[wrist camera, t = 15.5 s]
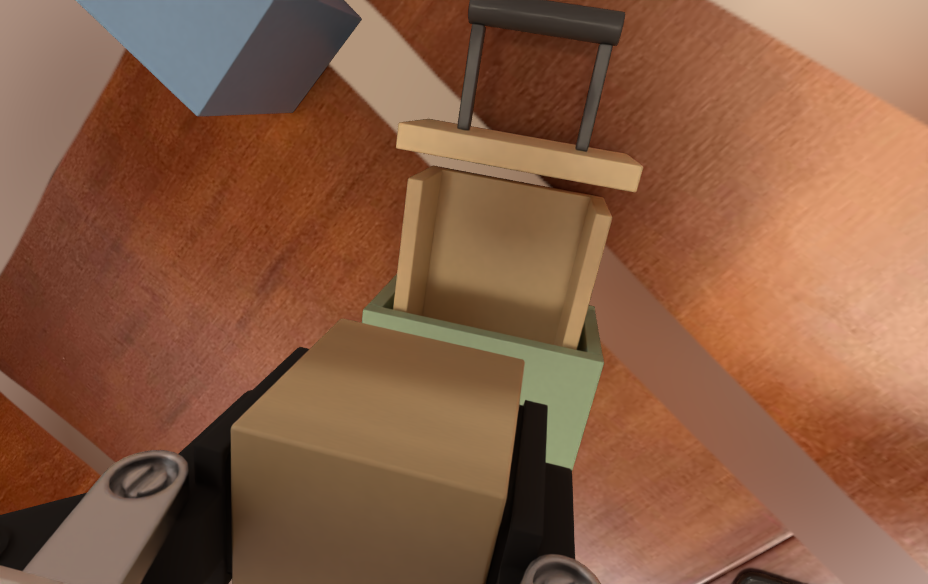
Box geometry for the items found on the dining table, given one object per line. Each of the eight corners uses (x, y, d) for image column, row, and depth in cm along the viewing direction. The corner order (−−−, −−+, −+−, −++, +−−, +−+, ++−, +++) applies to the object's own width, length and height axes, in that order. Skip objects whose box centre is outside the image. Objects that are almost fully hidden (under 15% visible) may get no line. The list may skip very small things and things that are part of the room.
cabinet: (403, 266, 34) (362, 309, 27) (594, 306, 32) (604, 362, 25) (382, 444, 39) (343, 519, 32) (545, 485, 38) (542, 572, 31)
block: (340, 316, 12) (228, 425, 8) (525, 358, 12) (507, 497, 8) (329, 465, 14) (231, 619, 10) (491, 507, 13) (460, 688, 9)
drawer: (442, -4, 27) (413, -30, 22) (661, 29, 26) (687, 10, 20) (401, 328, 34) (372, 369, 29) (570, 365, 33) (573, 416, 28)
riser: (268, -79, 28) (146, -154, 20) (362, 19, 29) (283, -15, 21) (205, 26, 31) (72, -2, 22) (292, 113, 31) (197, 117, 23)
